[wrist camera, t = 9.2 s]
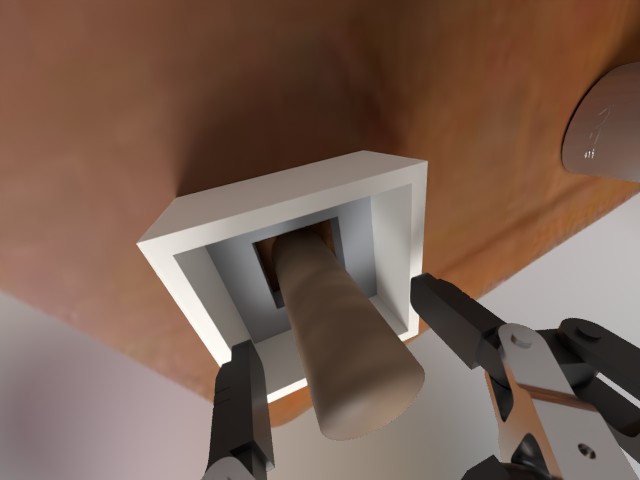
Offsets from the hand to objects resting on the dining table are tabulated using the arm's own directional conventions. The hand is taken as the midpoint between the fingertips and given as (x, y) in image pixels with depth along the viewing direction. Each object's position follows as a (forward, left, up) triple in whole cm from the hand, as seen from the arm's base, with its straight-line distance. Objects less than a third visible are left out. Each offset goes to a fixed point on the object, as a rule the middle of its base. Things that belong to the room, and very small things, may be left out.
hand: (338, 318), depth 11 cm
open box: (0, 0, -7) cm, 7 cm away
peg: (0, 0, -7) cm, 7 cm away
